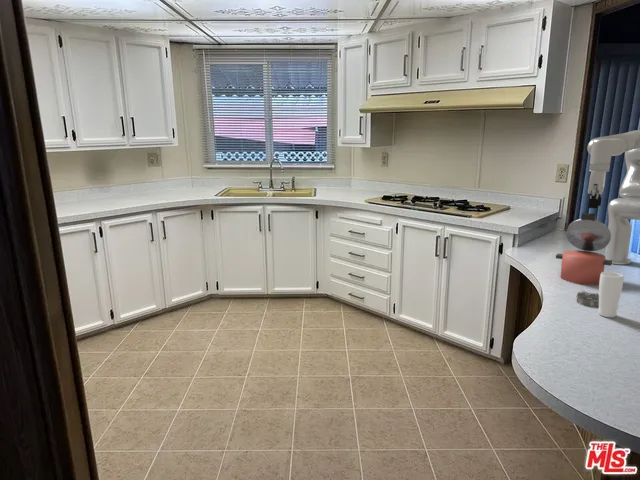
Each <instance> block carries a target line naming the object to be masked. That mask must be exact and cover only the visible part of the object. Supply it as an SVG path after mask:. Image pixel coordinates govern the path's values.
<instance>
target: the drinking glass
mask: <svg viewBox="0 0 640 480" xmlns="http://www.w3.org/2000/svg"><path fill="white" fill-rule="evenodd" d="M623 285H624V275H623V274H622V273H619V272H615V271H614V272H613V271H604V272H602V273H601V275H600V281H599V284H598V294H599V306H598V311H597V313H598V315H600V316H601V317H605V318H615V317H616V316H617V311H618V307H619V302H620V300H621V296H622V290H623Z"/></svg>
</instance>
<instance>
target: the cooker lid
mask: <svg viewBox="0 0 640 480" xmlns="http://www.w3.org/2000/svg"><path fill="white" fill-rule="evenodd" d="M596 215H597V214H596V213H587V212H581V218H578V219H576V220H573V221H571V223H569V225H568V227H567V229H566V232H565V234H566V235H565V236H566V239H567V241H568V242H569V243H570V244H571V245H572V246H573V247H574V248H576V249H579V250H580V251H590V252H596V251H597V252H598V251H601V250H603V249H606V246H607V245H608V244H609V242H610V239H611V232H610V230H609V228H608V225H606V224H605V222H602V221H600V220H598V219H596Z"/></svg>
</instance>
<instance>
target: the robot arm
mask: <svg viewBox="0 0 640 480" xmlns="http://www.w3.org/2000/svg"><path fill="white" fill-rule="evenodd" d="M586 150H587V152H588V154H589V155H590V157H589V159H590V160H589V169H588V171H589V172H591V173H590V176H589V182H588V187H587V195H588V194H589V195H590V197H589V200H588V201H589V202H588V208H589V209H598V207H600V206H601V205H602V198H603V197H602V194H603V193H604V190H605V183H606V175H607V172H610V169H611V168H610V167H611V161H612V157H613V156H614V157H616V156H617V157H618V156H620V155H622V154H623V153H624V160H625V167H626V174H625V176H624V178H623V180H622V183H621V185H620V188H619V190H618V191H619V192H618V195H619V198H614V199H612V200H611V201H610V202H609V203H608V206H607V209H608V210H607V211H608V225H607V227H608V228H609V230H610V232H611V239H610V242H609V244H608V245H607V246H606V247H605V249H604V250H605V252H604V256H605V260H612V264H611V265H619V266H620V265H622V266H624V265H630V264H631V263H632V260H631V259H629V251H630V243H631V236H632V234H631V233H632V230H633V228H632V224H631V222H630V221H629V220H635V221H636V220H637V221H640V129H639V130H638V129H637V130H632V131H628V132H624V133H623V132H622V133H618V134H611V135H606V136H600V137H599V136H598V137H595V138H592V139H591V140H590V141H589V142H588V144H587V149H586Z"/></svg>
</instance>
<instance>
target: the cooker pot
mask: <svg viewBox="0 0 640 480" xmlns="http://www.w3.org/2000/svg"><path fill="white" fill-rule="evenodd" d="M555 259H559V260H561V270H560V278H561V280H563V281H565V280H566V282H568V281H569V282H568V283H572V282H573V284H577V283H579V284H578V285H585V284H595V285H599V281H600V275H601V273H602V272H605V266H608V267H609V266H612V265H613V264H612V260H605V254H602V253H600V252H596V251H585V250H580V249H579V250H575V249H574V250H573V249H571V250H566V251H563V252H562V253H556V254H555Z"/></svg>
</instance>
